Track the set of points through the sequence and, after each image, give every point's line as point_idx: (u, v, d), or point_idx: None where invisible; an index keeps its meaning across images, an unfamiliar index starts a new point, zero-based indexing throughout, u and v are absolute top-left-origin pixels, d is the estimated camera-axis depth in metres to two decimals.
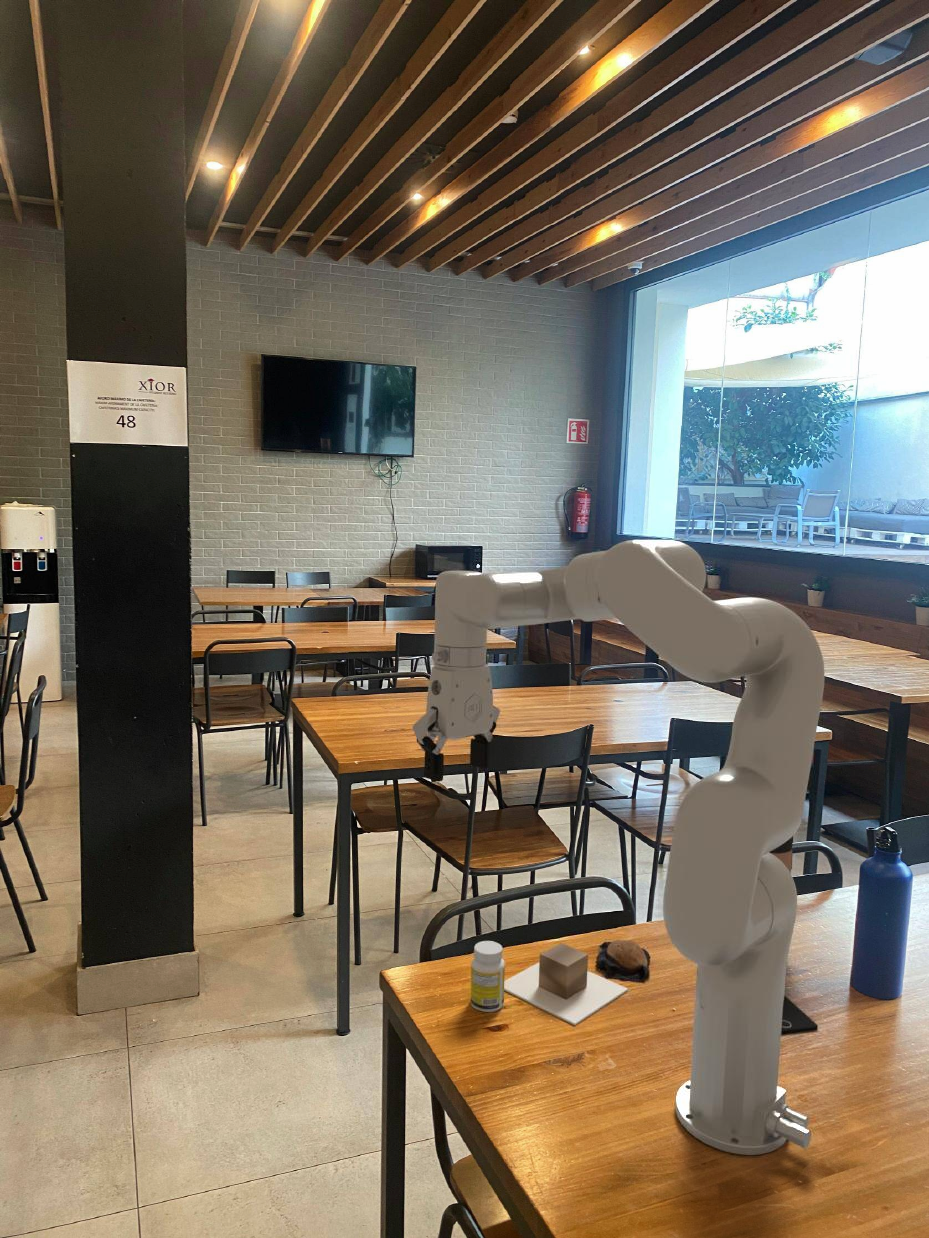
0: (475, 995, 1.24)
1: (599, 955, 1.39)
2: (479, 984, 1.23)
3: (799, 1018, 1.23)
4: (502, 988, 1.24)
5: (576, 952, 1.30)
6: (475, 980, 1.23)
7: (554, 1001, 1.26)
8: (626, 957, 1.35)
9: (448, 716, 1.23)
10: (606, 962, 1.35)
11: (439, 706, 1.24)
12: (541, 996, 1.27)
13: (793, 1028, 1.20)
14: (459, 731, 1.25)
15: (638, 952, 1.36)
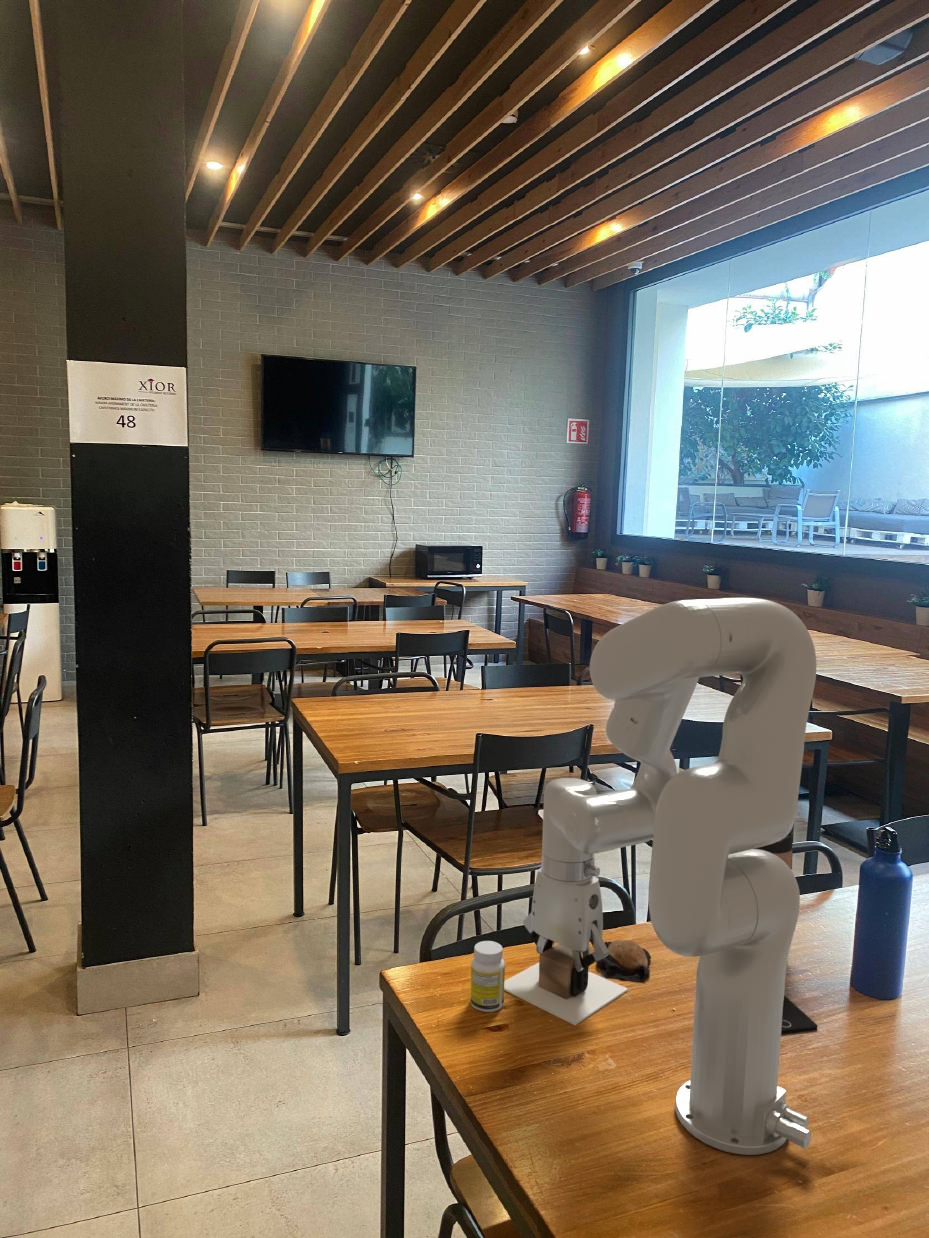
0: (475, 995, 1.24)
1: None
2: (479, 984, 1.23)
3: (799, 1018, 1.23)
4: (502, 988, 1.24)
5: None
6: (475, 980, 1.23)
7: (554, 1001, 1.26)
8: (626, 957, 1.35)
9: (602, 921, 1.27)
10: (606, 962, 1.35)
11: (598, 917, 1.26)
12: (541, 996, 1.27)
13: (793, 1028, 1.20)
14: None
15: (639, 952, 1.36)
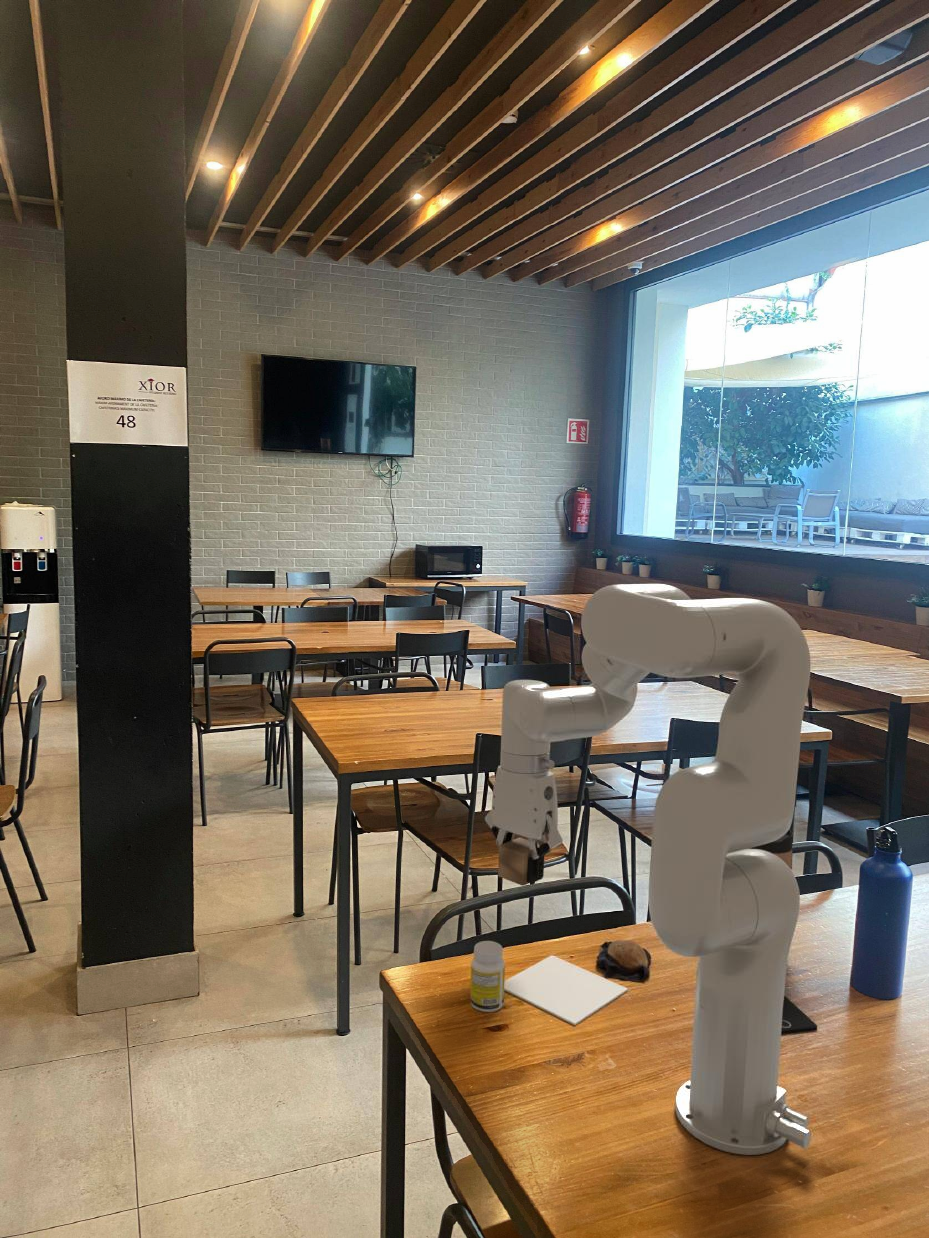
0: (475, 995, 1.24)
1: (600, 955, 1.39)
2: (479, 984, 1.23)
3: (799, 1018, 1.23)
4: (502, 988, 1.24)
5: None
6: (475, 980, 1.23)
7: (554, 1001, 1.26)
8: (626, 957, 1.35)
9: (557, 813, 1.36)
10: (606, 962, 1.35)
11: (553, 808, 1.34)
12: (541, 996, 1.27)
13: (792, 1028, 1.20)
14: None
15: (639, 952, 1.36)
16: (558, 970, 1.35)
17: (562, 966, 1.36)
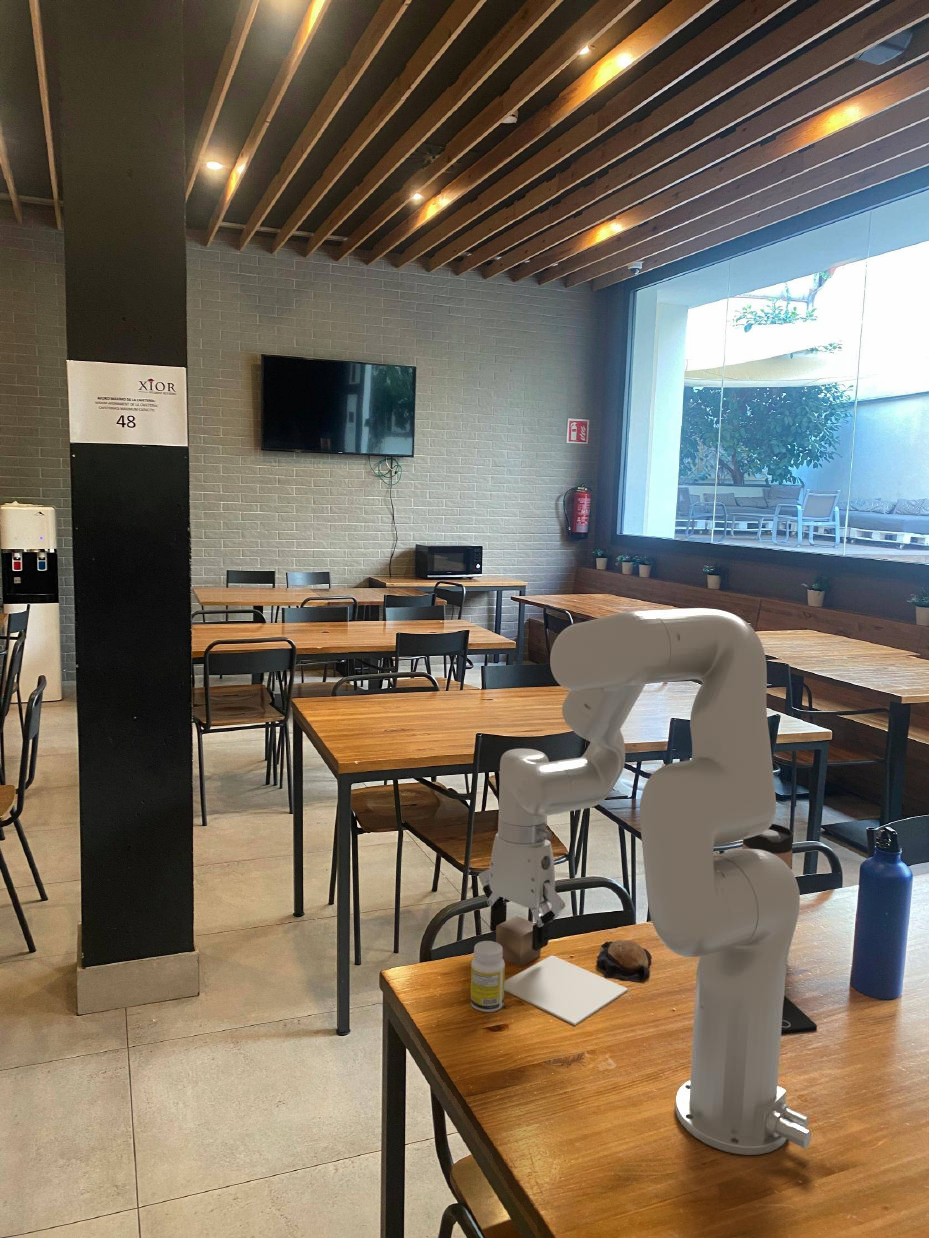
0: (475, 995, 1.24)
1: (600, 954, 1.39)
2: (479, 984, 1.23)
3: (799, 1018, 1.23)
4: (502, 988, 1.24)
5: (530, 924, 1.40)
6: (475, 980, 1.23)
7: (554, 1001, 1.26)
8: (626, 957, 1.35)
9: (554, 881, 1.37)
10: (606, 961, 1.35)
11: (550, 877, 1.35)
12: (541, 996, 1.27)
13: (792, 1028, 1.20)
14: None
15: (639, 952, 1.36)
16: (558, 970, 1.35)
17: (562, 966, 1.36)
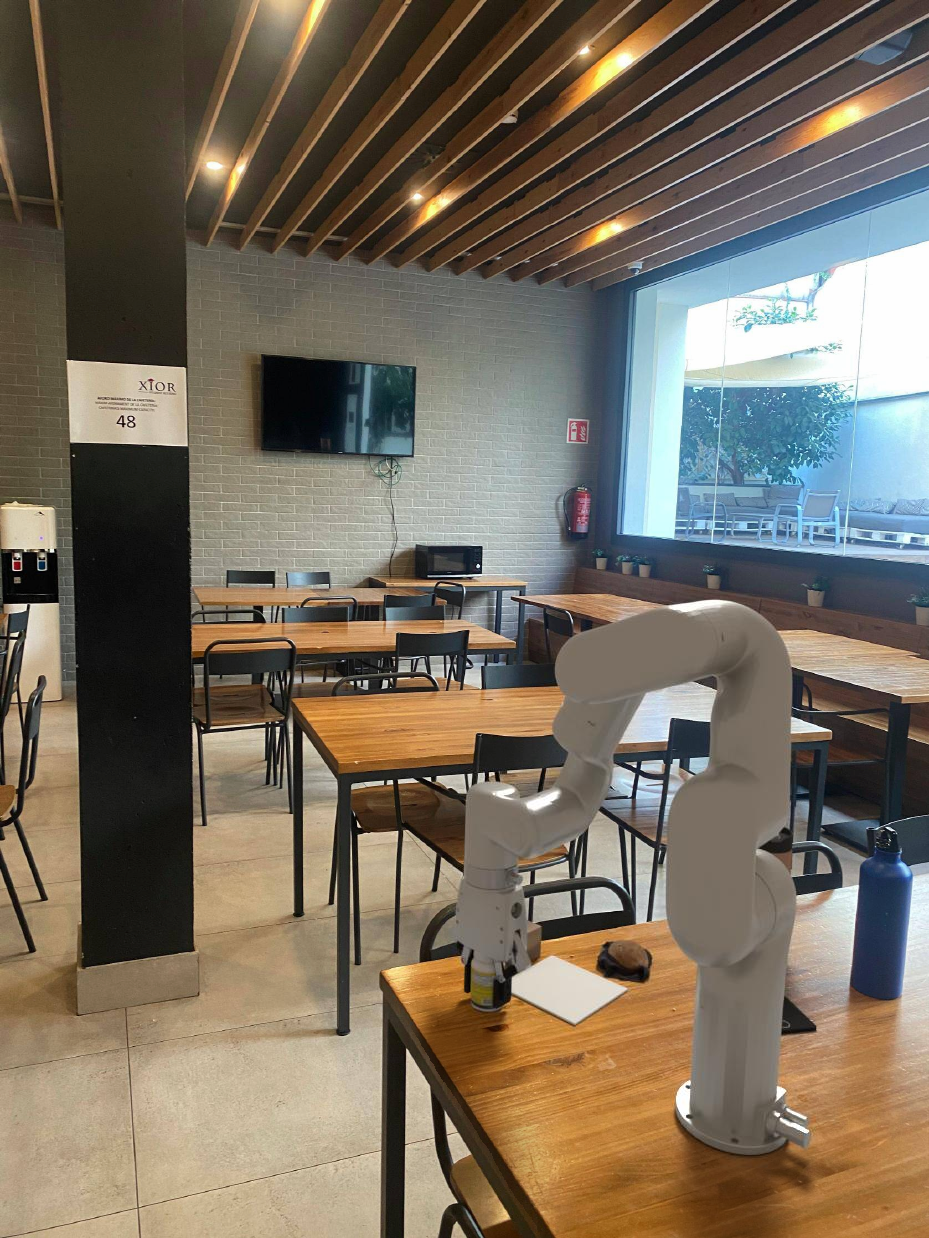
0: (475, 994, 1.24)
1: (600, 954, 1.39)
2: (479, 984, 1.23)
3: (798, 1019, 1.23)
4: None
5: (530, 924, 1.40)
6: (475, 979, 1.23)
7: (554, 1001, 1.26)
8: (626, 957, 1.35)
9: (526, 930, 1.23)
10: (606, 961, 1.35)
11: (521, 926, 1.21)
12: (541, 996, 1.27)
13: (791, 1028, 1.20)
14: None
15: (639, 953, 1.36)
16: (558, 970, 1.35)
17: (562, 966, 1.36)
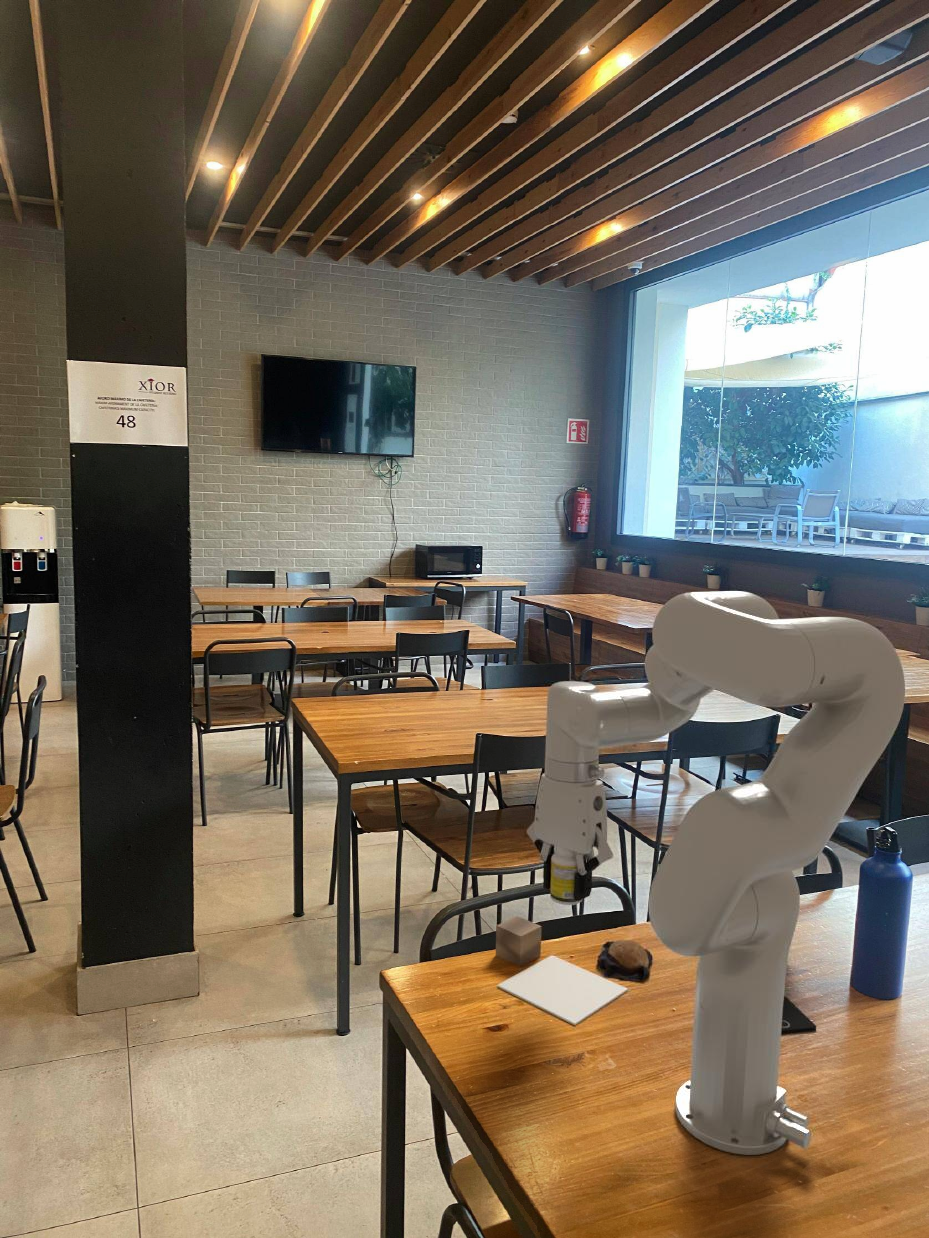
0: (556, 888, 1.27)
1: (601, 954, 1.39)
2: (561, 878, 1.26)
3: (798, 1019, 1.23)
4: None
5: (530, 924, 1.40)
6: (556, 873, 1.26)
7: (554, 1001, 1.26)
8: (626, 957, 1.35)
9: (606, 825, 1.26)
10: (606, 961, 1.35)
11: (602, 819, 1.24)
12: (541, 996, 1.27)
13: (791, 1028, 1.20)
14: None
15: (639, 953, 1.36)
16: (558, 970, 1.35)
17: (562, 966, 1.36)
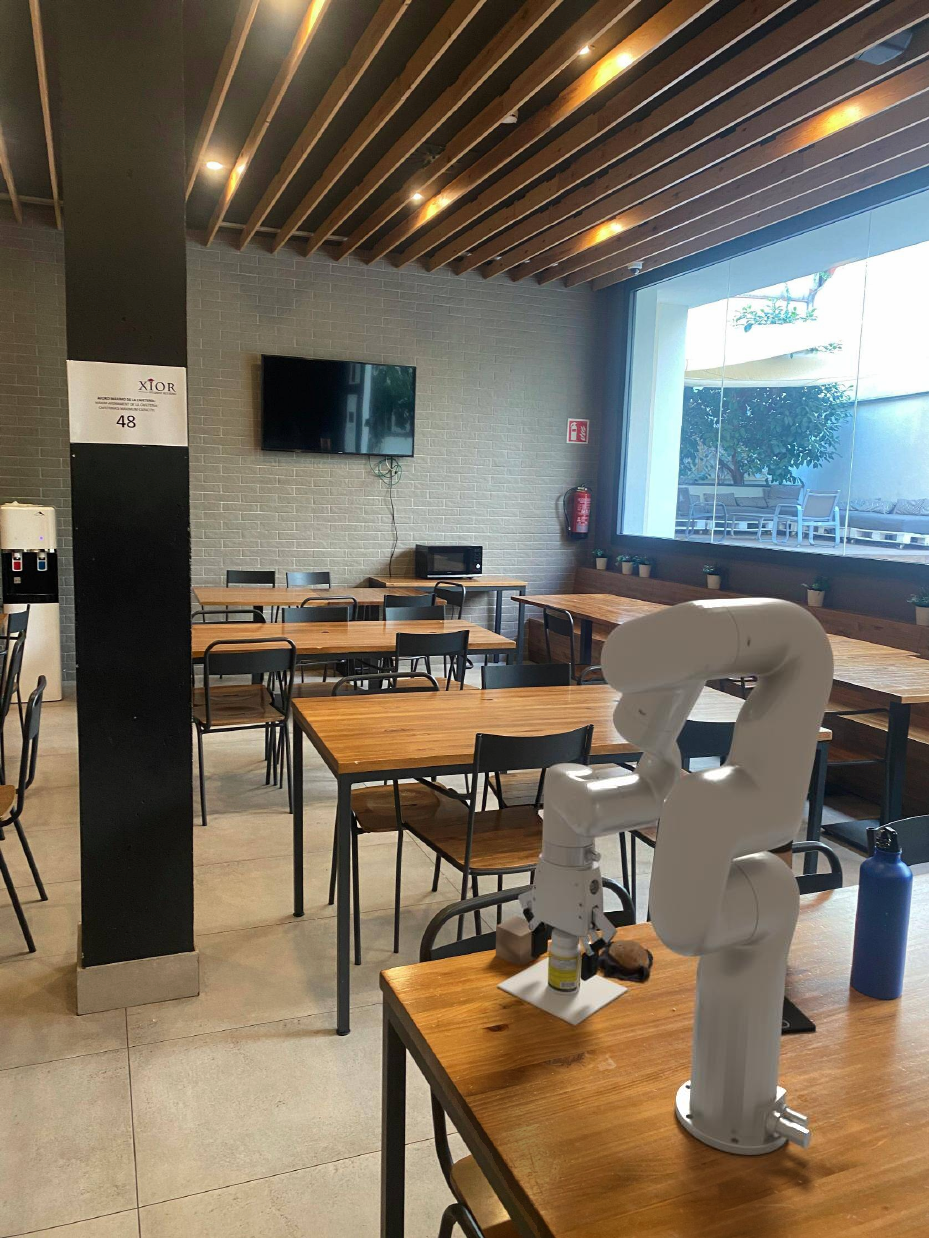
0: (554, 978, 1.28)
1: (601, 954, 1.39)
2: (558, 968, 1.27)
3: (798, 1019, 1.23)
4: (579, 972, 1.28)
5: None
6: (554, 963, 1.28)
7: (554, 1001, 1.26)
8: (626, 957, 1.35)
9: None
10: (606, 961, 1.35)
11: (599, 902, 1.26)
12: (541, 996, 1.27)
13: (790, 1028, 1.20)
14: None
15: (640, 953, 1.36)
16: None
17: None
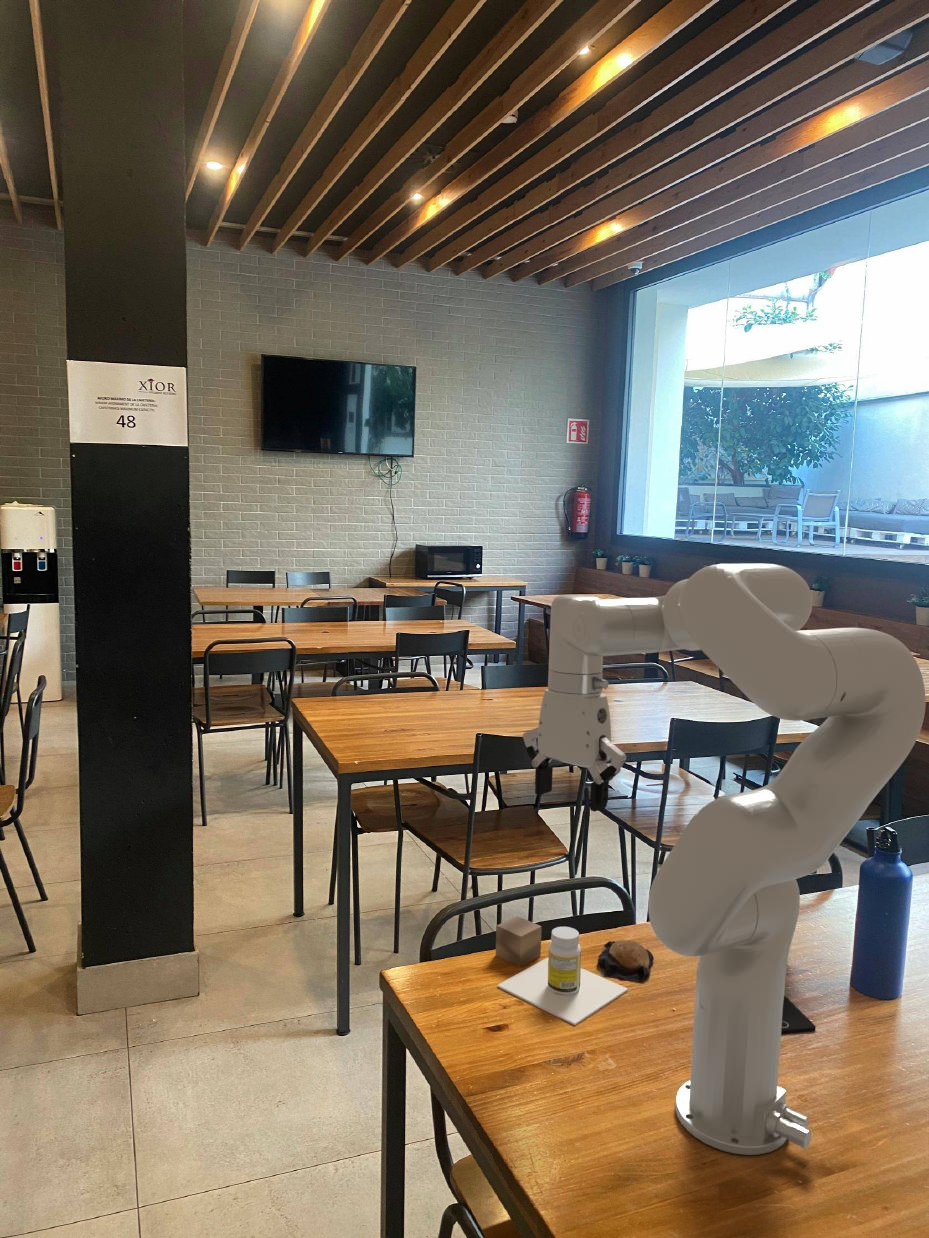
0: (554, 978, 1.28)
1: (602, 954, 1.39)
2: (558, 968, 1.27)
3: (797, 1019, 1.23)
4: (579, 972, 1.28)
5: (530, 924, 1.40)
6: (554, 964, 1.28)
7: (554, 1001, 1.26)
8: (626, 957, 1.35)
9: (610, 739, 1.24)
10: (606, 961, 1.35)
11: (606, 732, 1.23)
12: (541, 996, 1.27)
13: (790, 1028, 1.20)
14: None
15: (640, 953, 1.36)
16: None
17: None
